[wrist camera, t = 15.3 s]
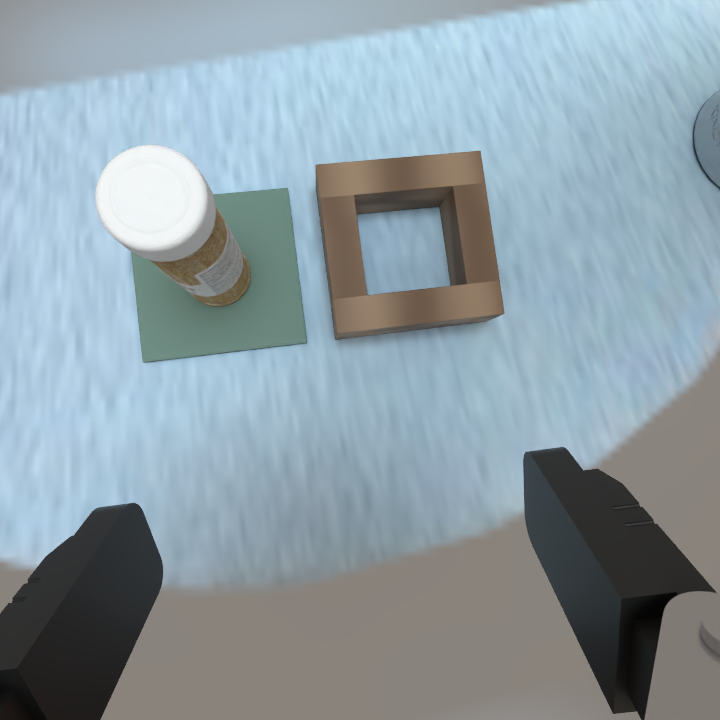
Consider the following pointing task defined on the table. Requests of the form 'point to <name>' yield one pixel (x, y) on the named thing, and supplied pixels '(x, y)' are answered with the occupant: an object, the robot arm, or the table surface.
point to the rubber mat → (243, 317)
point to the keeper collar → (400, 192)
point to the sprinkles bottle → (172, 222)
